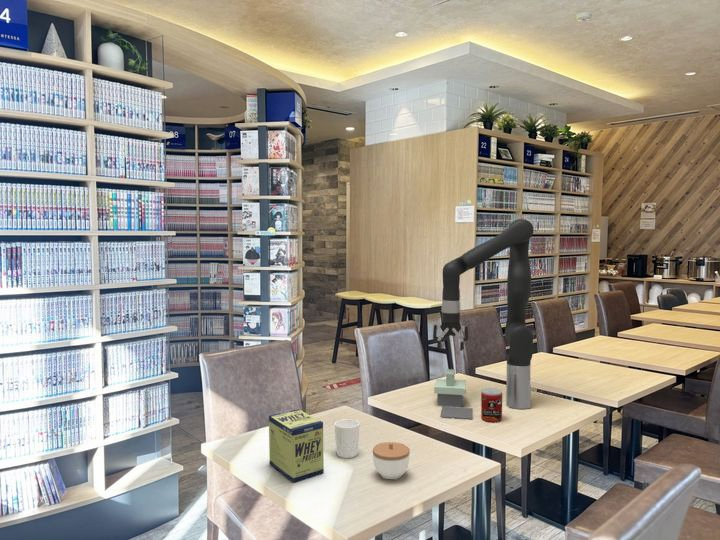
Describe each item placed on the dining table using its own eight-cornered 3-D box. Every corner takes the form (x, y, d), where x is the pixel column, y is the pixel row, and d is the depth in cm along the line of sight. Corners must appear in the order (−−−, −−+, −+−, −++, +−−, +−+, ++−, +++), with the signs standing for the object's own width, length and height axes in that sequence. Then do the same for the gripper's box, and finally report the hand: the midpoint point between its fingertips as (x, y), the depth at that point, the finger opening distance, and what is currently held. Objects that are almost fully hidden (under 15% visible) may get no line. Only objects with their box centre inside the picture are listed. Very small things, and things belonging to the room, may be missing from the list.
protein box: (293, 483, 150) (292, 429, 149) (268, 464, 163) (267, 414, 162) (324, 473, 156) (324, 421, 155) (298, 456, 169) (297, 408, 168)
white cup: (331, 451, 172) (331, 420, 172) (354, 447, 175) (354, 417, 174) (339, 460, 165) (339, 429, 164) (363, 456, 168) (363, 425, 167)
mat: (472, 409, 212) (472, 408, 212) (472, 419, 200) (472, 418, 200) (442, 407, 214) (442, 406, 214) (440, 417, 202) (440, 416, 202)
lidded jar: (365, 475, 155) (364, 443, 154) (390, 463, 162) (389, 433, 162) (392, 487, 147) (392, 454, 147) (417, 474, 155) (417, 443, 154)
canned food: (480, 422, 197) (481, 393, 197) (481, 415, 205) (481, 386, 204) (502, 423, 196) (502, 394, 195) (501, 416, 203) (502, 388, 203)
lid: (465, 386, 225) (466, 368, 224) (465, 395, 213) (465, 376, 212) (436, 384, 227) (436, 367, 227) (434, 393, 215) (434, 374, 215)
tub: (462, 399, 224) (463, 383, 224) (462, 407, 214) (462, 390, 214) (439, 398, 226) (439, 382, 226) (437, 405, 216) (437, 388, 216)
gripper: (468, 310, 220) (468, 349, 221) (434, 309, 223) (433, 347, 224) (468, 312, 213) (468, 353, 214) (432, 311, 216) (432, 351, 217)
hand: (450, 350), depth 219 cm, fingers open, 8 cm apart
